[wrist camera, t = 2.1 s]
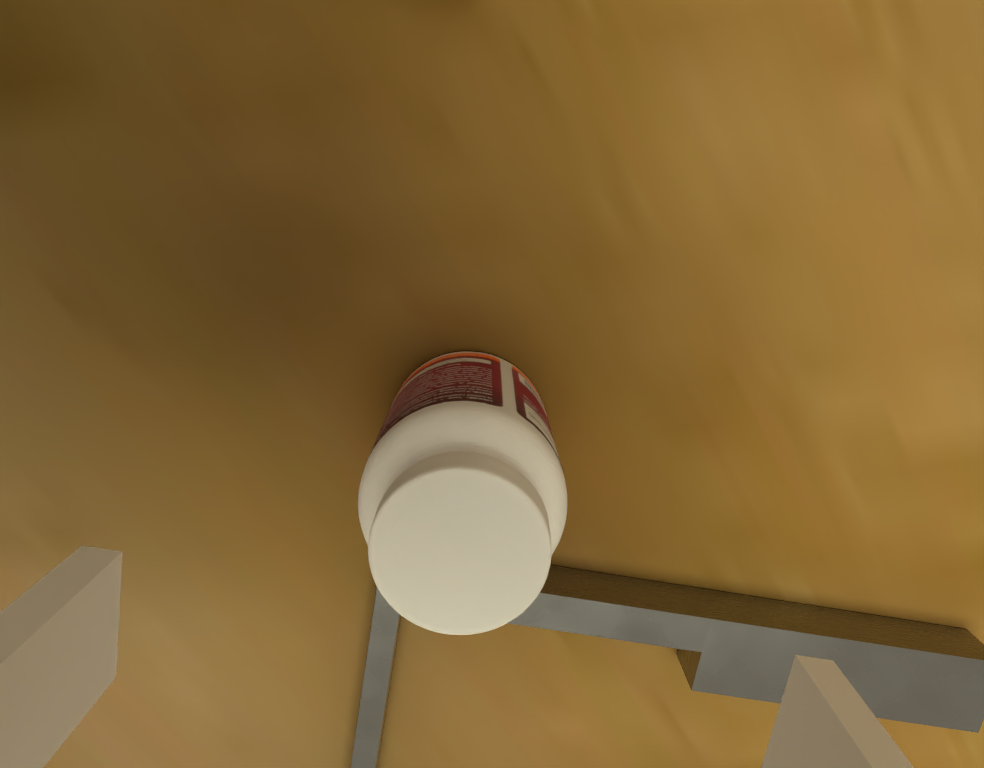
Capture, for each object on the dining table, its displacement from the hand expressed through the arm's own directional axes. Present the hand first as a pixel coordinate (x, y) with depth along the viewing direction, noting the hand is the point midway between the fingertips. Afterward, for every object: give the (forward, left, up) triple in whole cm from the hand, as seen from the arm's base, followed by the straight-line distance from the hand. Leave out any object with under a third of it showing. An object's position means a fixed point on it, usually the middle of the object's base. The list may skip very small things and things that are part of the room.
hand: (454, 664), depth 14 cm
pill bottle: (0, 0, -16) cm, 16 cm away
